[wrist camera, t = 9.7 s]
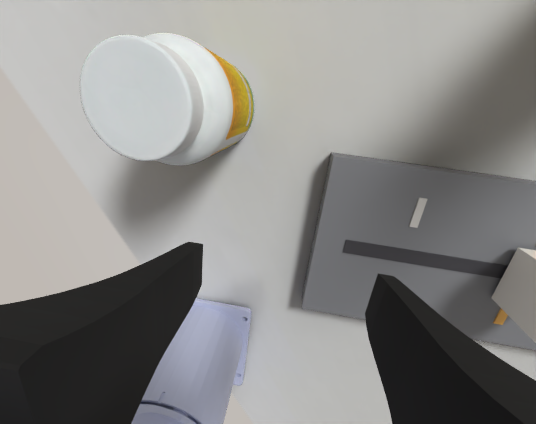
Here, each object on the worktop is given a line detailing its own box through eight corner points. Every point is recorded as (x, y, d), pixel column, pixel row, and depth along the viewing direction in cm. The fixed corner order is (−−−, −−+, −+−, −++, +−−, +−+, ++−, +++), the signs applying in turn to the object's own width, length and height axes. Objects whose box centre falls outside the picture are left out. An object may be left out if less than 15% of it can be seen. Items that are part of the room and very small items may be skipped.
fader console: (580, 345, 21) (601, 363, 20) (301, 296, 23) (301, 309, 21) (687, 202, 17) (724, 211, 15) (331, 152, 18) (333, 156, 17)
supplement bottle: (220, 162, 19) (151, 209, 11) (162, 105, 18) (32, 105, 10) (273, 104, 18) (243, 103, 9) (212, 39, 17) (108, -39, 8)
